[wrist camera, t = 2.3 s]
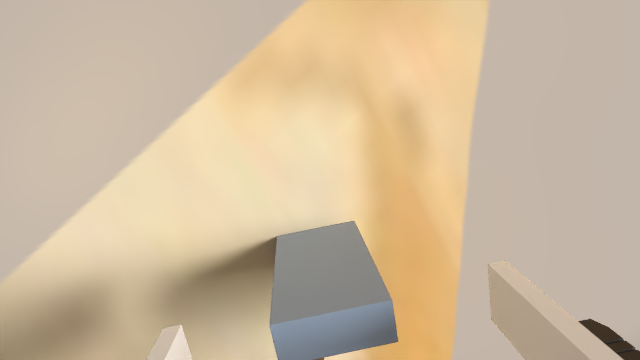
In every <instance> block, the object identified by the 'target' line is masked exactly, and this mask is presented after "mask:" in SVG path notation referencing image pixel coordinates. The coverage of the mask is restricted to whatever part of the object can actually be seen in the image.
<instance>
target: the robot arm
mask: <svg viewBox="0 0 640 360" xmlns="http://www.w3.org/2000/svg"><path fill="white" fill-rule="evenodd" d="M488 274H489V290H490V305H491V319H492V321H493V322H494V323H495V324H496V325H497V327H498V328H499V329H500V330H501V331H502V332H503V333H504V335H505V336H506V337H507V338H508V340H509V341H510V342H511V343H512V345H513V346H514V347H515V348H516V349H517V351H518V352H519V353H520V354H521V355H522V357H523V358H524V359H525V360H640V351H638V350H635V347H633V346H632V345H631V344H629V343H628V342H627V341H624V340H623V338H622V337H620V336H619V335H618V334H616V333H615V332H614V331H613V330H611V329H610V328H609V327H607V326H605V325H602V324H600V323H598V322H596V321H594V320H592V319H588V320H583V321H577V320H576V319H575V318H573V317H572V316H571V315H570V314H568V313H567V312H566V311H565V310H564V309H562V308H561V307H560V306H559V305H558V304H557V303H556V302H554V301H553V300H552V299H551V298H550V297H548V296H547V295H546V294H545V293H544V292H542V291H541V290H540V289H539V288H537V287H536V286H535V285H534V284H533V283H532V282H530V281H529V280H528V279H527V278H526V277H524V276H523V275H522V274H521V273H520V272H519V271H517V270H516V269H515V268H514V267H513V266H511V265H510V264H509V263H508V262H507V261H500V262H495V263H490V264H488ZM146 360H193V359H192V356H191V353H190V350H189V347H188V344H187V341H186V338H185V334H184V331H183V328H182V325H176V326H171V327H166V328H163V329H162V331H161V333H160V335H159V336H158V338H157V340H156V342H155V344H154V346H153V348H152V350H151V351H150V353H149V355H148V357H147V359H146Z"/></svg>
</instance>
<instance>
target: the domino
mask: <svg viewBox="0 0 640 360" xmlns="http://www.w3.org/2000/svg"><path fill="white" fill-rule="evenodd" d="M270 329H271V333H272V337H273V341H274V345H275V349H276V353H277V358H278V360H314V359H319V358H323V357H328V356H333V355H338V354H342V353H347V352H352V351H357V350H361V349H366V348H371V347H376V346H380V345H385V344H390V343H395V342H398V337H397V330H396V323H395V316H394V310H393V303H392V299H391V297H390V295H389V292H388V290H387V288H386V286H385V284H384V282H383V280H382V278H381V276H380V274H379V272H378V269H377V267H376V265H375V263H374V261H373V259H372V257H371V255H370V253H369V251H368V249H367V246H366V244H365V242H364V240H363V238H362V236H361V234H360V232H359V230H358V228H357V226H356V223H355V221H351V222H346V223H341V224H336V225H331V226H326V227H321V228H316V229H311V230H306V231H301V232H296V233H291V234H286V235H281V236H277V242H276V254H275V266H274V278H273V290H272V301H271V313H270Z"/></svg>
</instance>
